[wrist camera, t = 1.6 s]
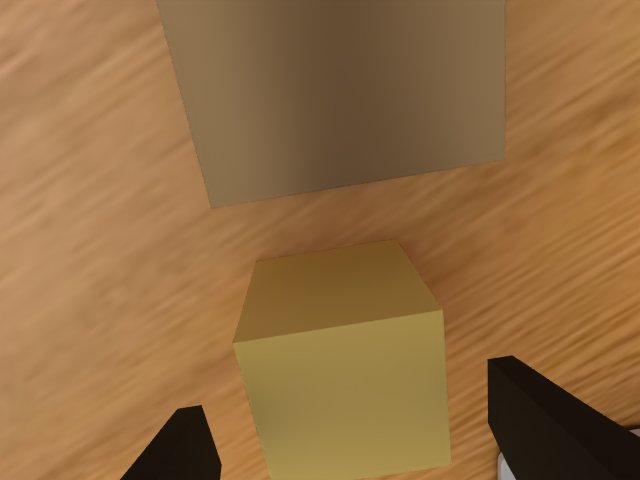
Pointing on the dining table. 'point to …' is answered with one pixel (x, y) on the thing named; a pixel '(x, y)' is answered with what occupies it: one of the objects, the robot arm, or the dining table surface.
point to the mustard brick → (345, 364)
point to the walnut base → (336, 90)
